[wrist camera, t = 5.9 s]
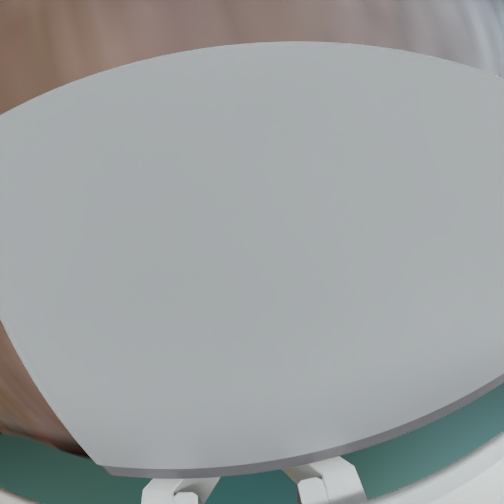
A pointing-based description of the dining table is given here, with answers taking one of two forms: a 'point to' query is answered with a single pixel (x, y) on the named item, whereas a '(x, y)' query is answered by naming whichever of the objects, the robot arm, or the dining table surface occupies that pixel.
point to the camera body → (255, 252)
